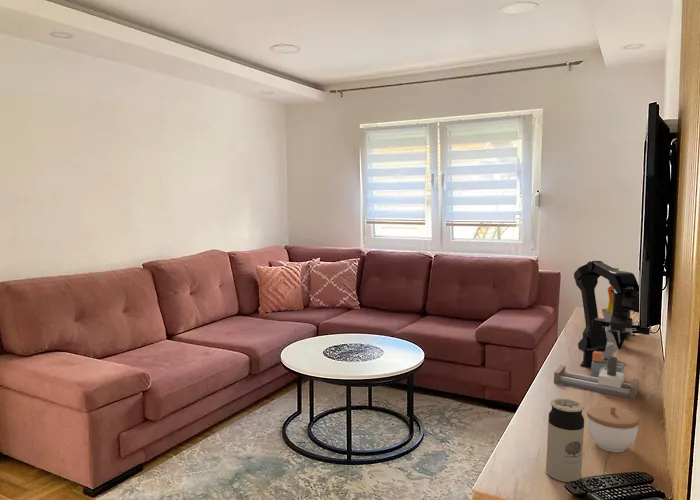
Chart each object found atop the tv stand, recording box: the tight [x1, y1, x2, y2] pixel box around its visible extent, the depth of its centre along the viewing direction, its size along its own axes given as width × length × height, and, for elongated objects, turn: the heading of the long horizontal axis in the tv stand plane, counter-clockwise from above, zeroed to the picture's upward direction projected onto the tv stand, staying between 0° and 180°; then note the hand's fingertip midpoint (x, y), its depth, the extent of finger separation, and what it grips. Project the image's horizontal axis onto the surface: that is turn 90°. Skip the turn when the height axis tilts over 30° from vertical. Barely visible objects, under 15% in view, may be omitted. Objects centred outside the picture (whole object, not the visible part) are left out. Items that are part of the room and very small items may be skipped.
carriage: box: [598, 356, 625, 388], centre depth 183 cm, size 8×7×9 cm
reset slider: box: [592, 351, 604, 362], centre depth 196 cm, size 3×3×3 cm
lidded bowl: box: [586, 404, 640, 453], centre depth 142 cm, size 13×13×11 cm
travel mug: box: [545, 397, 585, 483], centre depth 127 cm, size 8×8×18 cm
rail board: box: [553, 364, 640, 400], centre depth 187 cm, size 10×26×4 cm, turn 55°
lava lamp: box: [601, 267, 620, 346], centre depth 241 cm, size 9×9×35 cm
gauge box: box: [590, 359, 625, 378], centre depth 194 cm, size 6×10×6 cm, turn 55°
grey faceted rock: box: [603, 342, 618, 360], centre depth 219 cm, size 6×7×7 cm
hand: (619, 349), depth 191 cm, fingers closed
